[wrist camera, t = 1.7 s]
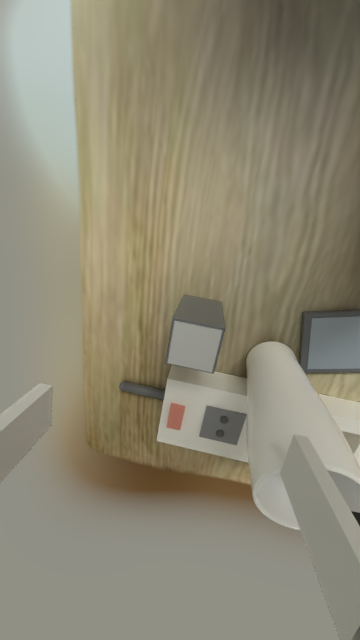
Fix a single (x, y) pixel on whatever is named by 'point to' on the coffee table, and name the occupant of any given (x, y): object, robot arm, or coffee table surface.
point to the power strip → (223, 412)
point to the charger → (196, 334)
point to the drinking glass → (290, 431)
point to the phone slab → (330, 341)
